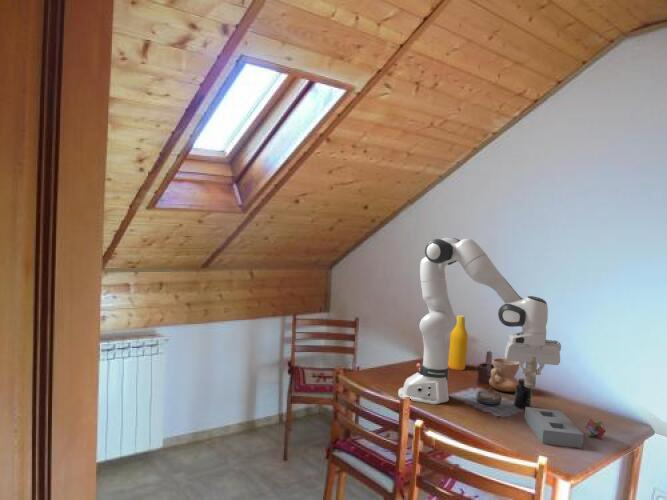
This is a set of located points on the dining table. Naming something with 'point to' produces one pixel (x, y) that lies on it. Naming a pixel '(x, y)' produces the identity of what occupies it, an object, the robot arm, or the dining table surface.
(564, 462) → the dining table surface
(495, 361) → the ceramic jug
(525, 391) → the supplement bottle
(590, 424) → the geometric puzzle
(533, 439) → the dining table surface
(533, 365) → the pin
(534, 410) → the socket block
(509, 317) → the robot arm
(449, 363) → the beer bottle
